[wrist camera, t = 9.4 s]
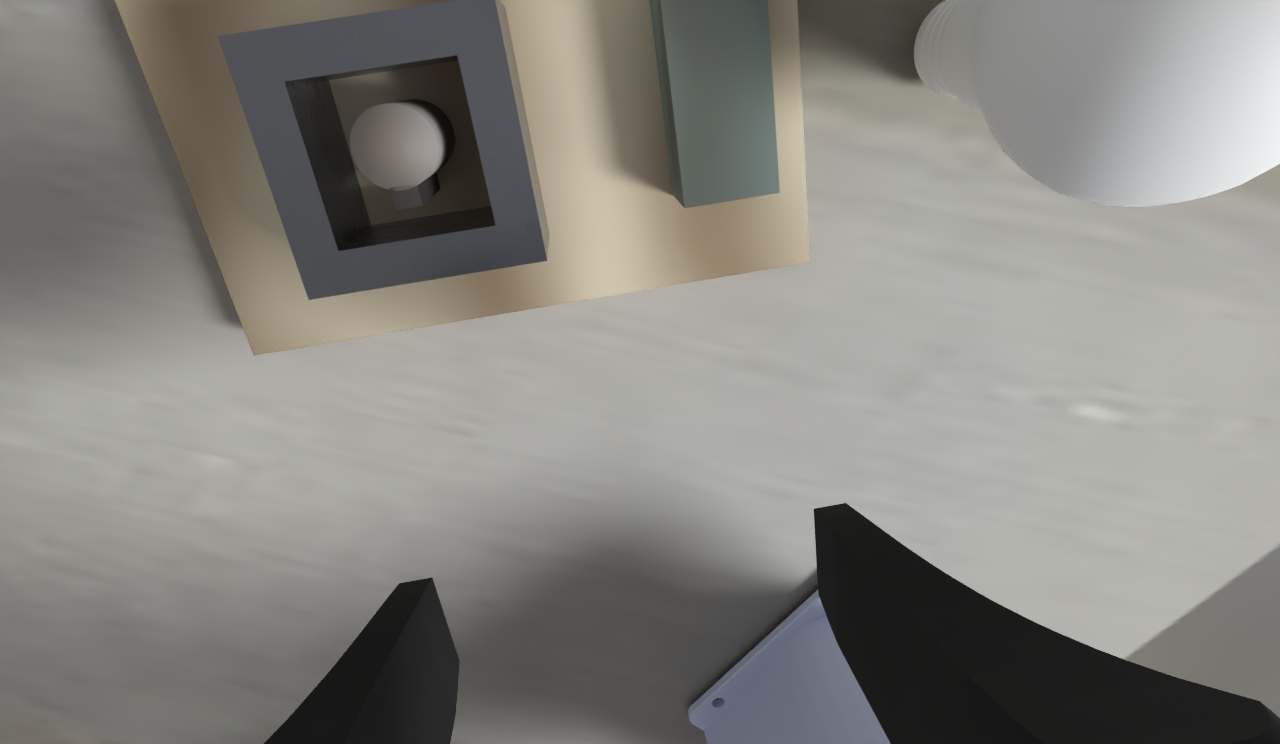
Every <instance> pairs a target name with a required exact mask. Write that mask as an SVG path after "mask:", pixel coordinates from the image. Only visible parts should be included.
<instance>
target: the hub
mask: <svg viewBox="0 0 1280 744" xmlns="http://www.w3.org/2000/svg"><path fill="white" fill-rule="evenodd" d="M218 39H219V42H220V45H221V48H222V50H223V53H224V56H225V59H226V62H227V65H228V68H229V71H230V74H231V77H232V79H233V82H234V85H235V88H236V91H237V94H238V97H239V100H240V103H241V106H242V108H243V111H244V114H245V117H246V120H247V123H248V126H249V129H250V132H251V134H252V137H253V140H254V143H255V146H256V149H257V152H258V155H259V158H260V161H261V163H262V166H263V169H264V172H265V175H266V178H267V181H268V184H269V187H270V189H271V192H272V195H273V198H274V201H275V204H276V207H277V210H278V213H279V216H280V218H281V221H282V224H283V227H284V230H285V233H286V236H287V239H288V242H289V245H290V247H291V250H292V253H293V256H294V259H295V262H296V265H297V268H298V271H299V273H300V276H301V279H302V282H303V285H304V288H305V291H306V294H307V297H308V300H312V299H318V298H324V297H331V296H337V295H343V294H349V293H355V292H361V291H367V290H373V289H379V288H385V287H391V286H397V285H403V284H410V283H416V282H422V281H428V280H434V279H440V278H446V277H452V276H458V275H464V274H470V273H476V272H482V271H489V270H495V269H501V268H507V267H513V266H519V265H525V264H531V263H537V262H543V261H547V258H548V247H549V235H550V234H549V229H548V224H547V218H546V213H545V208H544V203H543V198H542V193H541V188H540V182H539V177H538V172H537V167H536V162H535V157H534V152H533V147H532V141H531V136H530V131H529V126H528V121H527V116H526V111H525V105H524V100H523V95H522V90H521V85H520V80H519V75H518V69H517V64H516V59H515V54H514V49H513V44H512V39H511V34H510V28H509V23H508V18H507V13H506V8H505V6H504V5H503V4H502V3H501V2H500V0H453V1H447V2H440V3H433V4H427V5H420V6H413V7H407V8H400V9H393V10H387V11H380V12H374V13H367V14H360V15H354V16H347V17H340V18H334V19H327V20H321V21H314V22H307V23H301V24H294V25H287V26H281V27H274V28H267V29H261V30H254V31H248V32H241V33H234V34H228V35H221V36H218ZM458 60H459V65H460V69H461V74H462V78H463V83H464V87H465V92H466V96H467V101H468V105H469V109H470V114H471V118H472V123H473V127H474V132H475V136H476V141H477V145H478V150H479V154H480V158H481V163H482V167H483V172H484V176H485V181H486V185H487V190H488V194H489V199H490V203H491V206H488V207H481V208H475V209H469V210H463V211H457V212H450V213H444V214H438V215H432V216H426V217H419V218H413V219H407V220H401V221H395V222H388V223H382V224H376V225H371V222H370V219H369V216H368V212H367V209H366V205H365V202H364V199H363V195H362V192H361V188H360V185H359V182H358V178H357V175H356V172H355V168H354V165H353V161H352V158H351V155H350V151H349V148H348V144H347V141H346V138H345V134H344V131H343V127H342V124H341V121H340V117H339V114H338V110H337V107H336V104H335V100H334V97H333V94H332V90H331V87H330V83H329V80H335V79H341V78H348V77H354V76H361V75H367V74H374V73H380V72H387V71H393V70H400V69H406V68H413V67H419V66H426V65H432V64H439V63H445V62H452V61H458Z"/></svg>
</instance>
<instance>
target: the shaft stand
mask: <svg viewBox="0 0 1280 744" xmlns="http://www.w3.org/2000/svg"><path fill="white" fill-rule="evenodd" d="M447 1H453V0H115V2H116V5H117V7H118V10H119V12H120V15H121V18H122V20H123V23H124V25H125V28H126V30H127V33H128V35H129V38H130V41H131V43H132V46H133V48H134V51H135V53H136V56H137V58H138V61H139V64H140V66H141V69H142V71H143V74H144V76H145V79H146V81H147V84H148V87H149V89H150V92H151V94H152V97H153V99H154V102H155V104H156V107H157V109H158V112H159V115H160V117H161V120H162V122H163V125H164V127H165V130H166V132H167V135H168V138H169V140H170V143H171V145H172V148H173V150H174V153H175V155H176V158H177V161H178V163H179V166H180V168H181V171H182V173H183V176H184V178H185V181H186V184H187V186H188V189H189V191H190V194H191V196H192V199H193V201H194V204H195V207H196V209H197V212H198V214H199V217H200V219H201V222H202V224H203V227H204V230H205V232H206V235H207V237H208V240H209V242H210V245H211V247H212V250H213V252H214V255H215V258H216V260H217V263H218V265H219V268H220V270H221V273H222V275H223V278H224V281H225V283H226V286H227V288H228V291H229V293H230V296H231V298H232V301H233V304H234V306H235V309H236V311H237V314H238V316H239V319H240V321H241V324H242V327H243V329H244V332H245V334H246V337H247V339H248V342H249V344H250V347H251V350H252V352H253V355H259V354H265V353H271V352H277V351H283V350H289V349H295V348H301V347H307V346H313V345H319V344H325V343H331V342H337V341H343V340H349V339H355V338H361V337H367V336H372V335H378V334H384V333H390V332H396V331H402V330H408V329H414V328H420V327H426V326H432V325H438V324H444V323H450V322H456V321H462V320H468V319H474V318H480V317H486V316H492V315H498V314H504V313H510V312H516V311H522V310H528V309H534V308H540V307H546V306H551V305H557V304H563V303H569V302H575V301H581V300H587V299H593V298H599V297H605V296H611V295H617V294H623V293H629V292H635V291H641V290H647V289H653V288H659V287H665V286H671V285H677V284H683V283H689V282H695V281H701V280H707V279H713V278H719V277H725V276H730V275H736V274H742V273H748V272H754V271H760V270H766V269H772V268H778V267H784V266H790V265H796V264H802V263H808V262H810V254H809V233H808V212H807V191H806V170H805V149H804V128H803V107H802V86H801V65H800V44H799V23H798V2H797V0H500V2H501V3H502V4H503V5H504V6H505V8H506V13H507V18H508V23H509V28H510V34H511V39H512V44H513V49H514V54H515V59H516V64H517V69H518V75H519V80H520V85H521V90H522V95H523V100H524V105H525V111H526V116H527V121H528V126H529V131H530V136H531V141H532V147H533V152H534V157H535V162H536V167H537V172H538V177H539V182H540V188H541V193H542V198H543V203H544V208H545V213H546V218H547V224H548V229H549V234H550V235H549V247H548V258H547V261H543V262H537V263H531V264H525V265H519V266H513V267H507V268H501V269H495V270H489V271H482V272H476V273H470V274H464V275H458V276H452V277H446V278H440V279H434V280H428V281H422V282H416V283H410V284H403V285H397V286H391V287H385V288H379V289H373V290H367V291H361V292H355V293H349V294H343V295H337V296H331V297H324V298H318V299H312V300H308V297H307V294H306V291H305V288H304V285H303V282H302V279H301V276H300V273H299V271H298V268H297V265H296V262H295V259H294V256H293V253H292V250H291V247H290V245H289V242H288V239H287V236H286V233H285V230H284V227H283V224H282V221H281V218H280V216H279V213H278V210H277V207H276V204H275V201H274V198H273V195H272V192H271V189H270V187H269V184H268V181H267V178H266V175H265V172H264V169H263V166H262V163H261V161H260V158H259V155H258V152H257V149H256V146H255V143H254V140H253V137H252V134H251V132H250V129H249V126H248V123H247V120H246V117H245V114H244V111H243V108H242V106H241V103H240V100H239V97H238V94H237V91H236V88H235V85H234V82H233V79H232V77H231V74H230V71H229V68H228V65H227V62H226V59H225V56H224V53H223V50H222V48H221V45H220V42H219V39H218V36H221V35H228V34H234V33H241V32H248V31H254V30H261V29H267V28H274V27H281V26H287V25H294V24H301V23H307V22H314V21H321V20H327V19H334V18H340V17H347V16H354V15H360V14H367V13H374V12H380V11H387V10H393V9H400V8H407V7H413V6H420V5H427V4H433V3H440V2H447ZM329 83H330V87H331V90H332V94H333V97H334V100H335V104H336V107H337V110H338V114H339V117H340V121H341V124H342V127H343V131H344V134H345V138H346V141H347V144H348V148H349V151H350V155H351V158H352V161H353V165H354V168H355V172H356V175H357V178H358V182H359V185H360V188H361V192H362V195H363V199H364V202H365V205H366V209H367V212H368V216H369V219H370V222H371V225H376V224H382V223H388V222H395V221H401V220H407V219H413V218H419V217H426V216H432V215H438V214H444V213H450V212H457V211H463V210H469V209H475V208H481V207H488V206H491V203H490V199H489V194H488V190H487V185H486V181H485V176H484V172H483V167H482V163H481V158H480V154H479V150H478V145H477V141H476V136H475V132H474V127H473V123H472V118H471V114H470V109H469V105H468V101H467V96H466V92H465V87H464V83H463V78H462V74H461V69H460V65H459V60H458V61H452V62H445V63H439V64H432V65H426V66H419V67H413V68H406V69H400V70H393V71H387V72H380V73H374V74H367V75H361V76H354V77H348V78H341V79H335V80H329Z"/></svg>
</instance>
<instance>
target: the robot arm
mask: <svg viewBox="0 0 1280 744" xmlns="http://www.w3.org/2000/svg"><path fill="white" fill-rule="evenodd" d="M814 519H815V538H816V557H817V576H818V590H817V591H816V592H815V593H813V594H812V595H811V596H810V597H809V598H808V599H807V600H806V601H805V602H804V603H803V604H801V605H800V606H799V607H798V608H797V609H796V610H795V611H794V612H793V613H792V614H791V615H789V616H788V617H787V618H786V619H785V620H784V621H783V622H782V623H781V624H780V625H779V626H777V627H776V628H775V629H774V630H773V631H772V632H771V633H770V634H769V635H768V636H767V637H765V638H764V639H763V640H762V641H761V642H760V643H759V644H758V645H757V646H756V647H755V648H753V649H752V650H751V651H750V652H749V653H748V654H747V655H746V656H745V657H744V658H743V659H741V660H740V661H739V662H738V663H737V664H736V665H735V666H734V667H733V668H732V669H731V670H729V671H728V672H727V673H726V674H725V675H724V676H723V677H722V678H721V679H720V680H719V681H717V682H716V683H715V684H714V685H713V686H712V687H711V688H710V689H709V690H708V691H707V692H705V693H704V694H703V695H702V696H701V697H700V698H699V699H698V700H697V701H696V702H695V703H693V704H692V705H691V706H690V708H689V709H688V717H689V721H690V723H691V724H693V725H694V726H696V727H698V728H699V729H701V730H703V731H704V733H705V738H706V743H707V744H1280V718H1279V717H1278V716H1277V715H1275V714H1274V713H1273V712H1272V711H1271V710H1270V709H1268V708H1267V707H1266V706H1265V705H1263V704H1262V703H1261V702H1260V701H1256V700H1253V699H1249V698H1246V697H1242V696H1239V695H1235V694H1231V693H1228V692H1225V691H1221V690H1218V689H1214V688H1211V687H1207V686H1204V685H1200V684H1197V683H1193V682H1190V681H1186V680H1183V679H1179V678H1176V677H1173V676H1170V675H1167V674H1164V673H1161V672H1158V671H1155V670H1152V669H1149V668H1147V667H1144V666H1141V665H1138V664H1135V663H1132V662H1129V661H1126V660H1124V659H1121V658H1118V657H1116V656H1113V655H1110V654H1108V653H1105V652H1102V651H1100V650H1097V649H1095V648H1092V647H1090V646H1088V645H1085V644H1083V643H1080V642H1078V641H1076V640H1073V639H1071V638H1069V637H1066V636H1064V635H1062V634H1059V633H1057V632H1055V631H1052V630H1050V629H1048V628H1046V627H1044V626H1041V625H1039V624H1037V623H1035V622H1033V621H1031V620H1029V619H1027V618H1025V617H1023V616H1021V615H1019V614H1017V613H1015V612H1013V611H1011V610H1009V609H1007V608H1005V607H1003V606H1001V605H999V604H997V603H995V602H994V601H992V600H990V599H988V598H986V597H984V596H983V595H981V594H979V593H977V592H976V591H974V590H972V589H971V588H969V587H967V586H966V585H964V584H962V583H961V582H959V581H957V580H956V579H954V578H952V577H951V576H949V575H947V574H946V573H944V572H943V571H941V570H940V569H938V568H936V567H935V566H933V565H932V564H930V563H929V562H927V561H926V560H924V559H923V558H921V557H920V556H918V555H917V554H915V553H914V552H912V551H911V550H909V549H908V548H907V547H905V546H904V545H902V544H901V543H900V542H898V541H897V540H895V539H894V538H893V537H891V536H890V535H889V534H887V533H886V532H884V531H883V530H882V529H880V528H879V527H878V526H876V525H875V524H873V523H872V522H871V521H869V520H868V519H867V518H865V517H864V516H863V515H861V514H860V513H859V512H857V511H856V510H854V509H853V508H852V507H850V506H849V505H848V504H846V503H844V504H839V505H833V506H827V507H822V508H816V509H814ZM458 673H459V658H458V655H457V652H456V649H455V646H454V643H453V640H452V637H451V634H450V631H449V628H448V625H447V622H446V619H445V616H444V613H443V610H442V606H441V603H440V600H439V597H438V594H437V591H436V588H435V585H434V582H433V579H432V578H427V579H422V580H416V581H411V582H405V583H400V584H399V585H398V586H397V587H396V588H395V589H394V591H393V592H392V593H391V594H390V596H389V597H388V598H387V600H386V601H385V602H384V603H383V605H382V606H381V607H380V609H379V610H378V611H377V612H376V614H375V615H374V616H373V618H372V619H371V620H370V621H369V623H368V624H367V625H366V627H365V628H364V629H363V630H362V632H361V633H360V634H359V636H358V637H357V638H356V639H355V641H354V642H353V643H352V644H351V646H350V647H349V648H348V649H347V651H346V652H345V653H344V654H343V656H342V657H341V658H340V659H339V661H338V662H337V663H336V664H335V666H334V667H333V668H332V669H331V670H330V672H329V673H328V674H327V675H326V676H325V677H324V678H323V680H322V681H321V682H320V683H319V684H318V685H317V686H316V688H315V689H314V690H313V691H312V692H311V693H310V694H309V696H308V697H307V698H306V699H305V700H304V701H303V702H302V704H301V705H300V706H299V707H298V708H297V709H296V710H295V712H294V713H293V714H292V715H291V716H290V717H289V718H288V719H287V720H286V721H285V722H284V723H283V725H282V726H281V727H280V728H279V729H278V730H277V731H276V732H275V733H274V734H273V735H272V736H271V737H270V738H269V739H268V740H267V741H266V742H265V743H264V744H450V740H451V735H452V730H453V725H454V719H455V713H456V701H457V689H458ZM716 698H720V699H717V700H714V699H716Z"/></svg>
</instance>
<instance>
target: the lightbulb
mask: <svg viewBox="0 0 1280 744" xmlns="http://www.w3.org/2000/svg"><path fill="white" fill-rule="evenodd" d="M914 62H915V67H916V70H917V73H918V75H919V77H920V78H921V80H922V82H923V83H924V84H925V85H926V86H927V87H928V88H930V89H931V90H933V91H935V92H937V93H940V94H943V95H946V96H949V97H955V98H958V99H959V100H960V101H961V102H963V103H965V104H966V105H968V106H970V107H972V108H975V109H978V110H981V111H982V112H983V115H984V117H985V120H986V122H987V124H988V127H989V129H990V131H991V132H992V134H993V136H994V137H995V139H996V140H997V142H998V144H999V145H1000V147H1001V148H1002V150H1003V152H1004V153H1005V154H1006V155H1008V156H1009V157H1010V158H1011V159H1012V160H1013V161H1014V162H1015V163H1016V164H1017V165H1018V166H1019V167H1020V168H1021V169H1022V170H1023V171H1025V172H1026V173H1028V174H1029V175H1030V176H1032V177H1033V178H1035V179H1036V180H1038V181H1039V182H1041V183H1043V184H1044V185H1046V186H1048V187H1050V188H1051V189H1053V190H1055V191H1056V192H1058V193H1060V194H1064V195H1067V196H1071V197H1074V198H1078V199H1081V200H1085V201H1089V202H1093V203H1097V204H1101V205H1108V206H1128V207H1140V206H1159V205H1165V204H1171V203H1178V202H1184V201H1189V200H1193V199H1198V198H1202V197H1206V196H1210V195H1213V194H1216V193H1219V192H1222V191H1225V190H1227V189H1230V188H1233V187H1236V186H1239V185H1241V184H1243V183H1245V182H1247V181H1249V180H1250V179H1252V178H1254V177H1256V176H1258V175H1260V174H1262V173H1264V172H1265V171H1267V170H1269V169H1271V168H1273V167H1275V166H1276V165H1278V164H1280V0H945V1H943V2H941V3H940V4H938V5H937V6H936V7H935V8H934V9H933V10H931V12H930V13H929V14H928V15H927V17H926V18H925V19H924V21H923V23H922V24H921V26H920V28H919V31H918V33H917V36H916V40H915V45H914Z"/></svg>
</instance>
